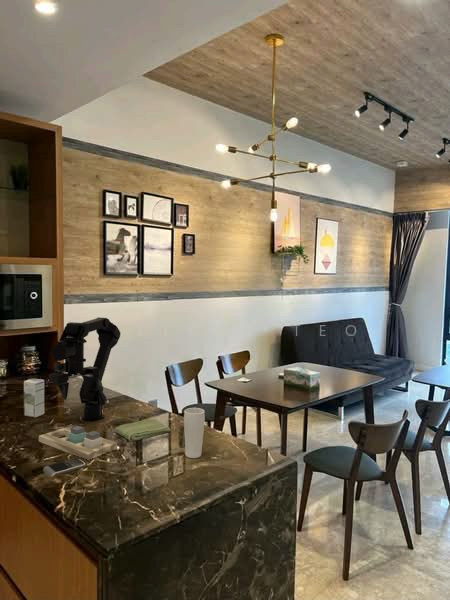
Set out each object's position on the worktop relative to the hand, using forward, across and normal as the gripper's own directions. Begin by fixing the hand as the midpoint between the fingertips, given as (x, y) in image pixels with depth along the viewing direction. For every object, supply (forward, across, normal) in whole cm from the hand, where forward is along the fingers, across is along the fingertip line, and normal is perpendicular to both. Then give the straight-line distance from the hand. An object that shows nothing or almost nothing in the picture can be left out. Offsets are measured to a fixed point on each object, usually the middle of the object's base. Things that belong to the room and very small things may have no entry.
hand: (75, 397), depth 169 cm
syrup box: (+12, 0, -26) cm, 29 cm away
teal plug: (+12, +10, +14) cm, 21 cm away
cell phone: (+13, +24, +26) cm, 38 cm away
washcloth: (+13, -13, +23) cm, 29 cm away
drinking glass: (+12, -7, +51) cm, 53 cm away
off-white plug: (+12, +10, +22) cm, 27 cm away
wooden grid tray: (+12, +10, +14) cm, 21 cm away
